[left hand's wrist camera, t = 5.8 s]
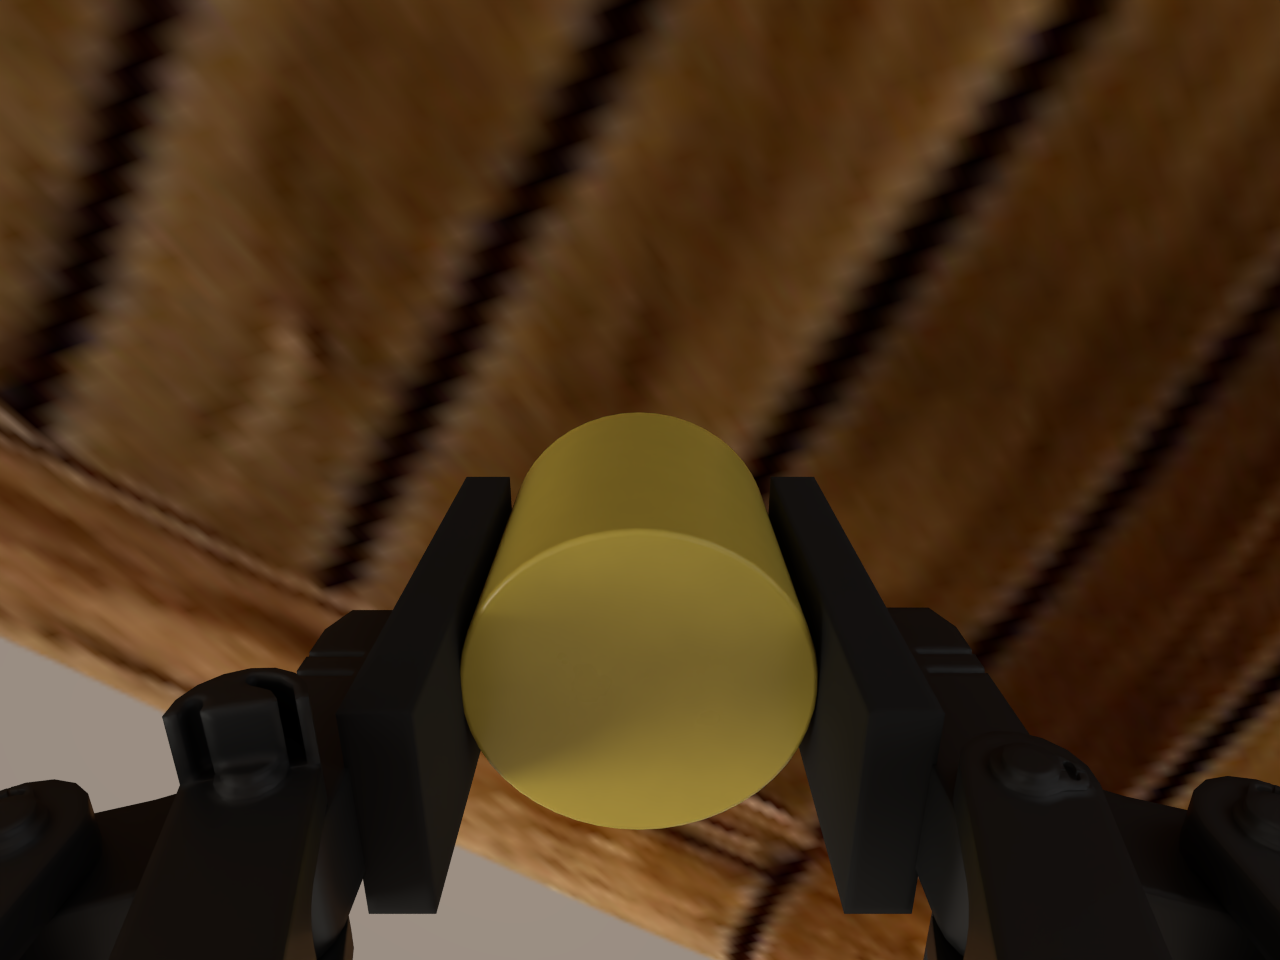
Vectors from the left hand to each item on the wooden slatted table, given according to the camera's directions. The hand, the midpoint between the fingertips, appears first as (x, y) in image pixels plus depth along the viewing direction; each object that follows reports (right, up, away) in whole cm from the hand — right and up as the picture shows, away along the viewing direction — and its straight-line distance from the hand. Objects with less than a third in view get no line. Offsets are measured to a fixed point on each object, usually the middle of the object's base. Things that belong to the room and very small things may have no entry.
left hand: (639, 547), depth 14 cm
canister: (0, 0, 0) cm, 0 cm away
